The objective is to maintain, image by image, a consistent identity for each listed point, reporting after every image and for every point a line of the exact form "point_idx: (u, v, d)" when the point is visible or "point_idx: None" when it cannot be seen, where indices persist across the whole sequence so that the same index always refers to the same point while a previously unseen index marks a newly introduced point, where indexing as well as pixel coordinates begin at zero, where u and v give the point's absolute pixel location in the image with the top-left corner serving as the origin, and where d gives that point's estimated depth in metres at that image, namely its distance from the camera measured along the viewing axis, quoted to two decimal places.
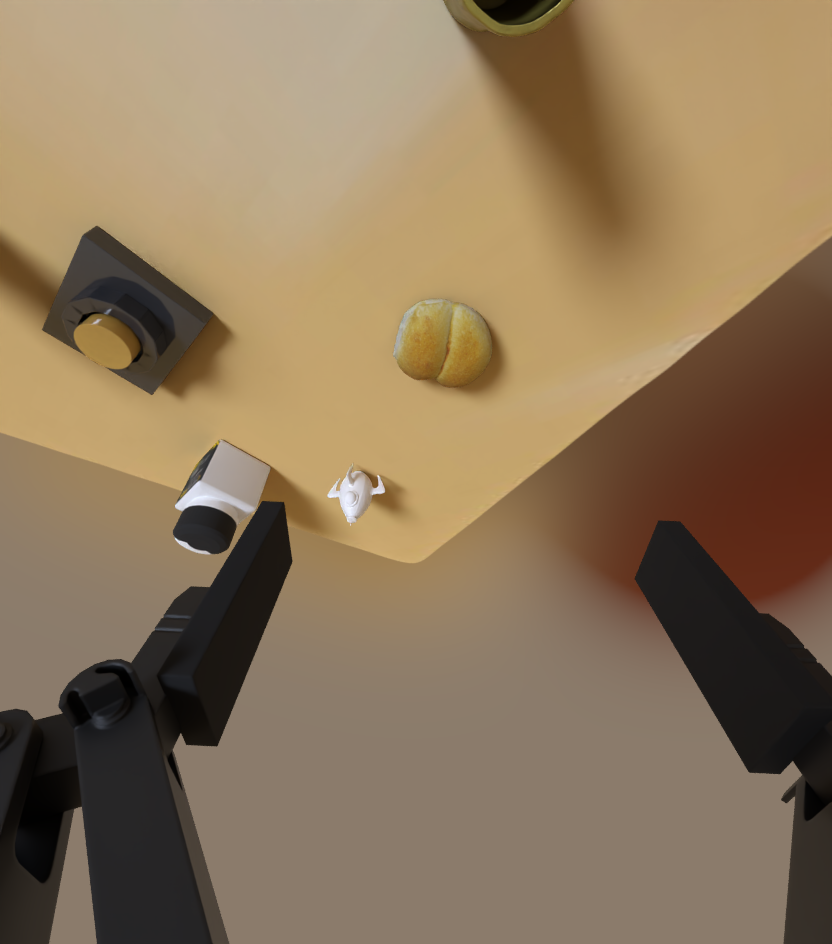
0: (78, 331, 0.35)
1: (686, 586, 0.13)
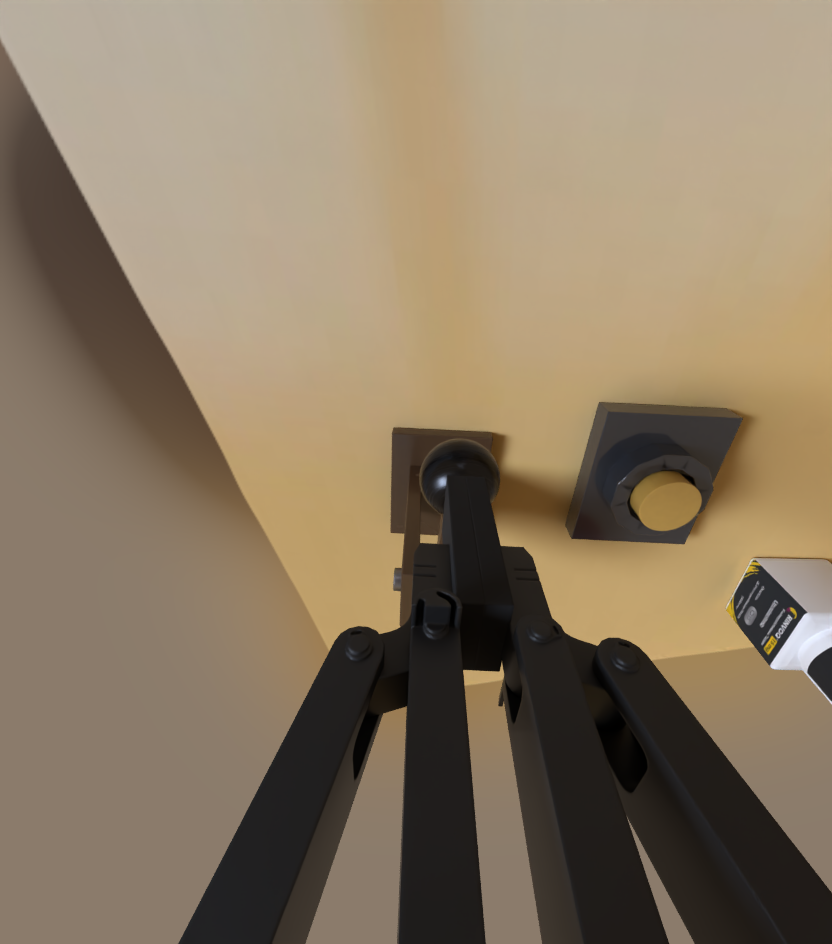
0: (644, 505, 0.31)
1: None
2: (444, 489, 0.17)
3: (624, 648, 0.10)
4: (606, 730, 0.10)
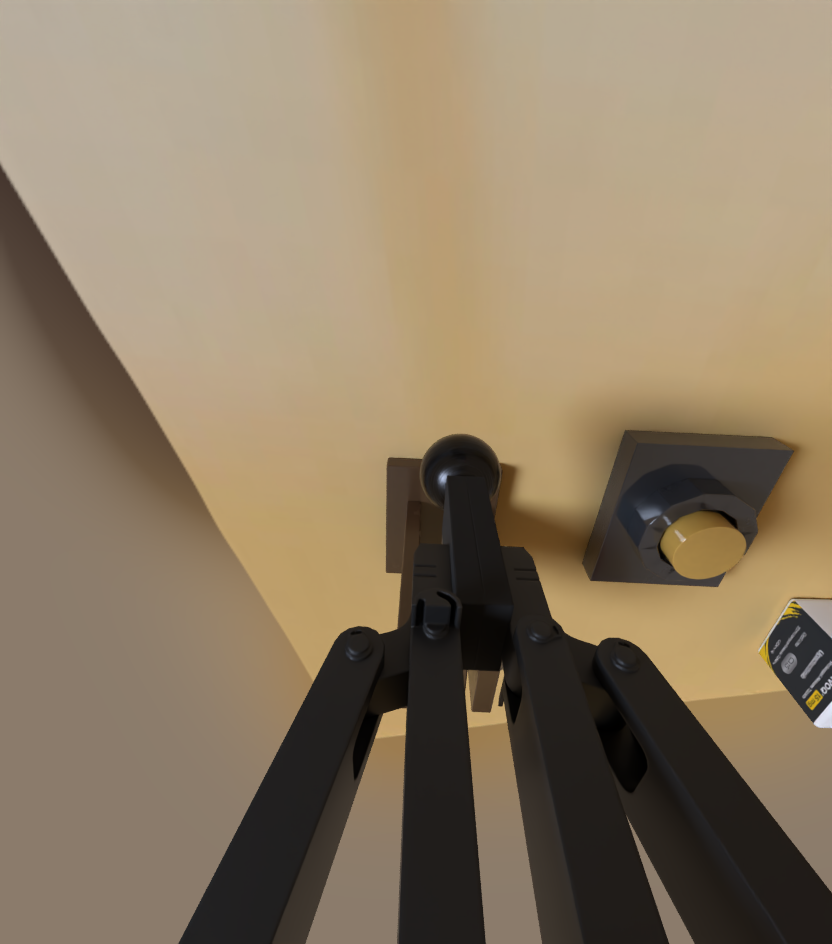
0: (679, 551, 0.27)
1: None
2: (446, 464, 0.17)
3: (623, 647, 0.10)
4: (606, 730, 0.10)
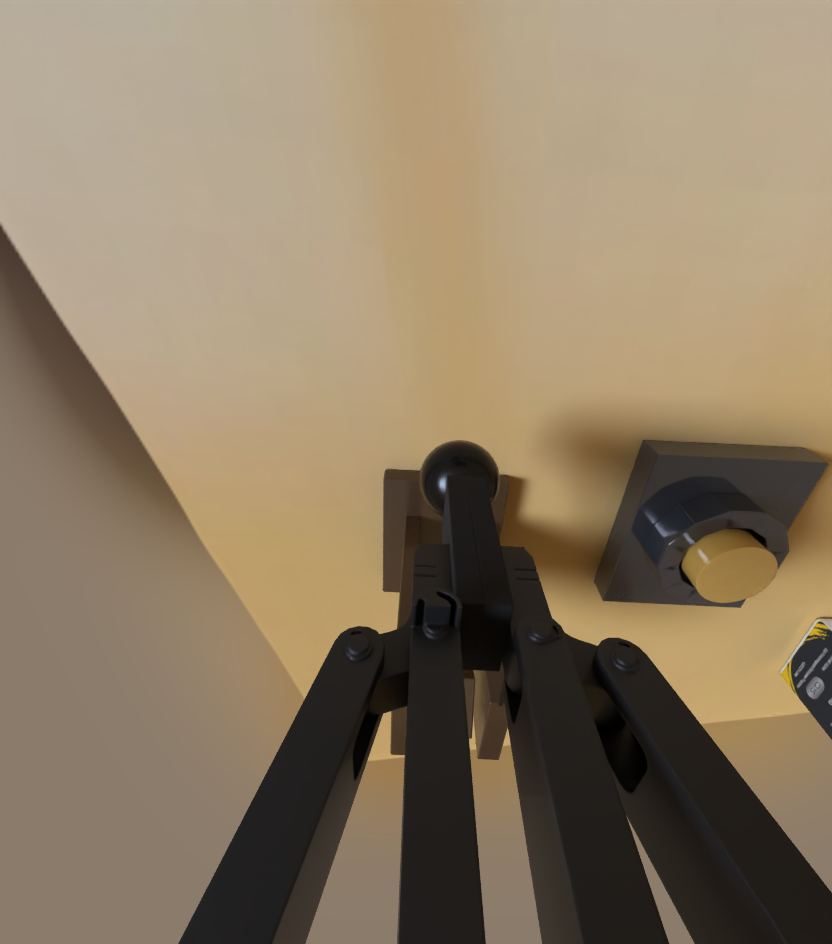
0: (704, 573, 0.24)
1: None
2: (445, 462, 0.17)
3: (624, 648, 0.10)
4: (606, 730, 0.10)
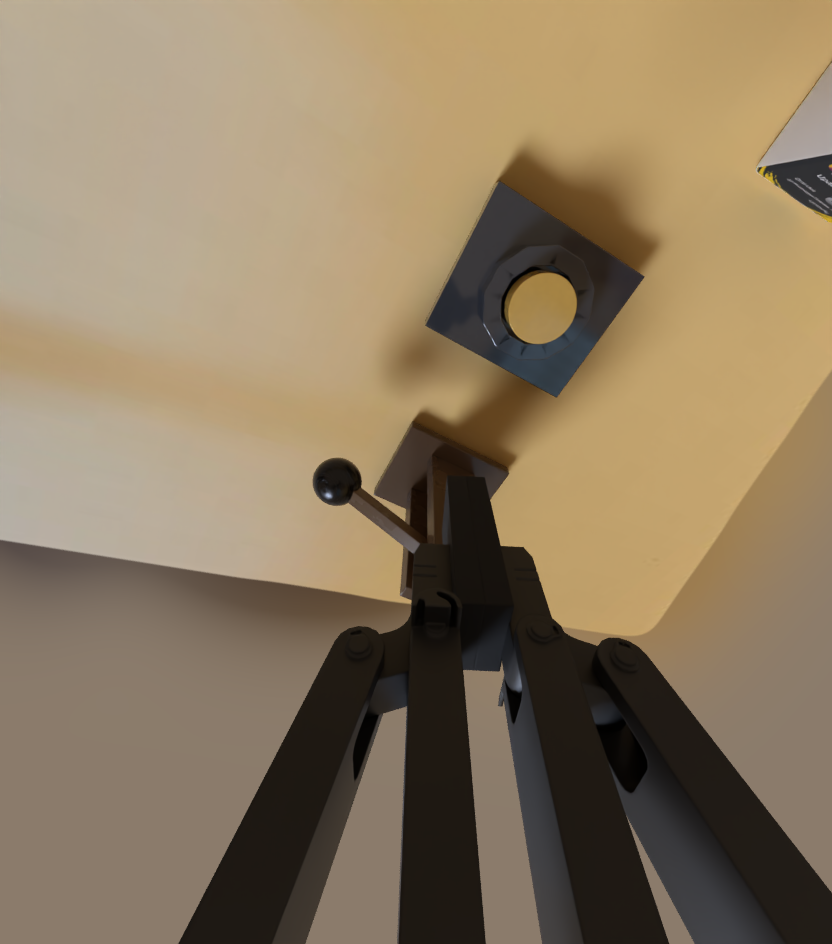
0: (523, 335, 0.28)
1: None
2: None
3: (624, 648, 0.10)
4: (606, 730, 0.10)
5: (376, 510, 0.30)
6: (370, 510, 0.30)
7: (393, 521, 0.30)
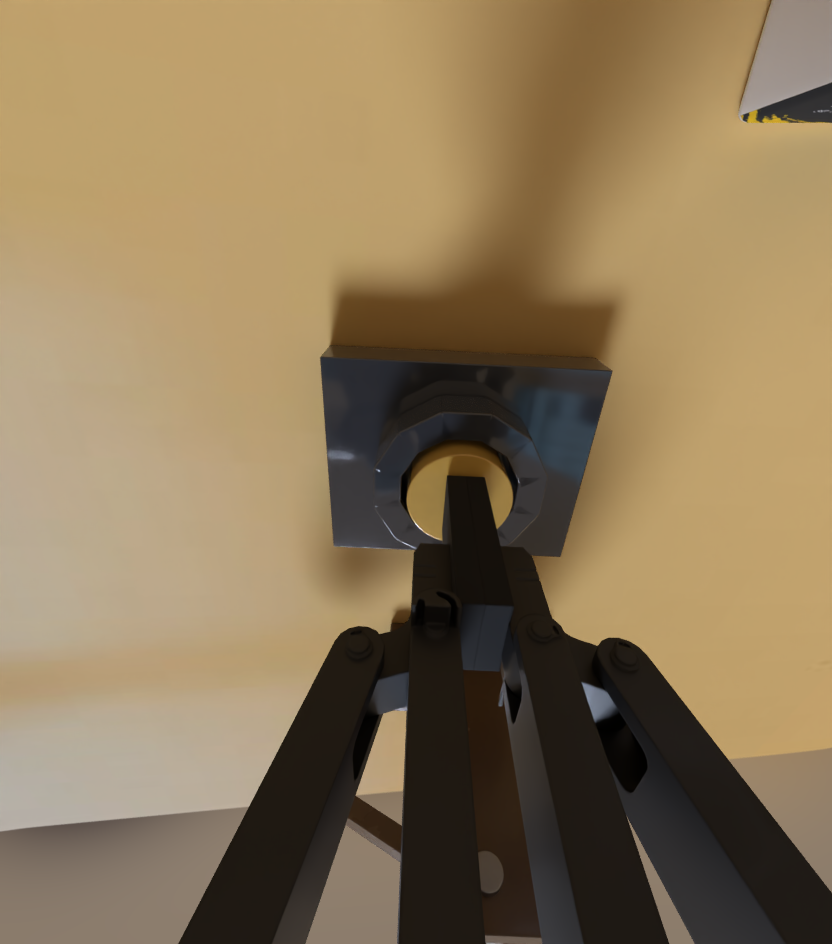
0: None
1: None
2: None
3: (624, 648, 0.10)
4: (606, 730, 0.10)
5: (361, 827, 0.21)
6: (355, 826, 0.22)
7: (387, 841, 0.21)
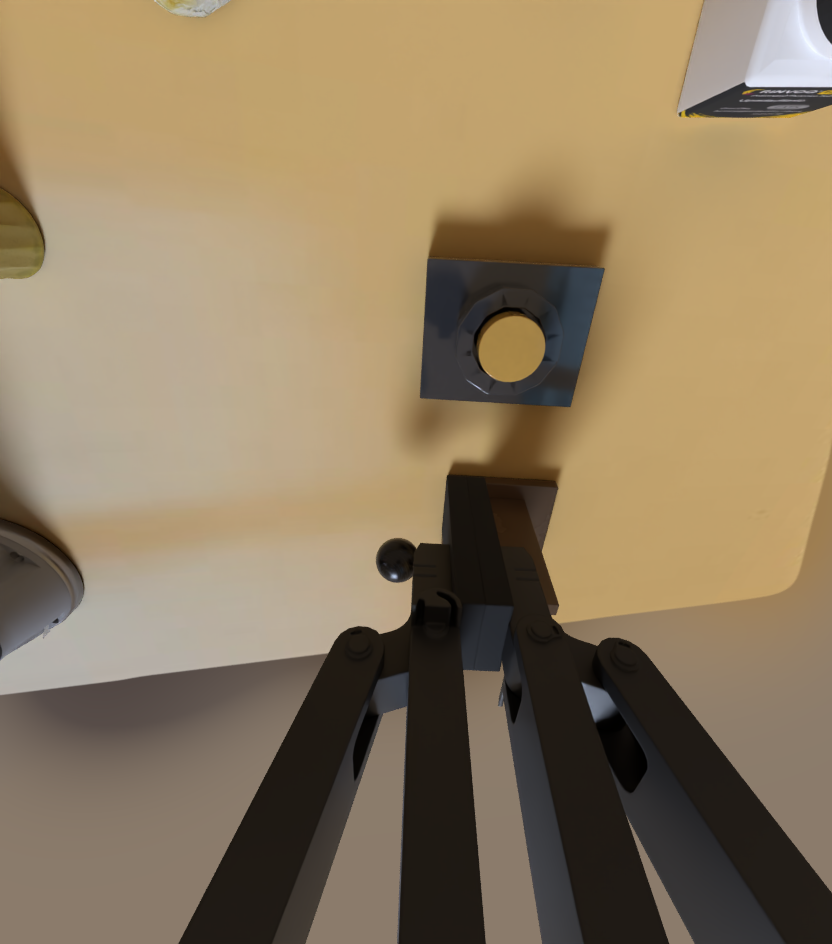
0: (505, 378, 0.29)
1: None
2: None
3: (624, 648, 0.10)
4: (606, 730, 0.10)
5: None
6: None
7: None
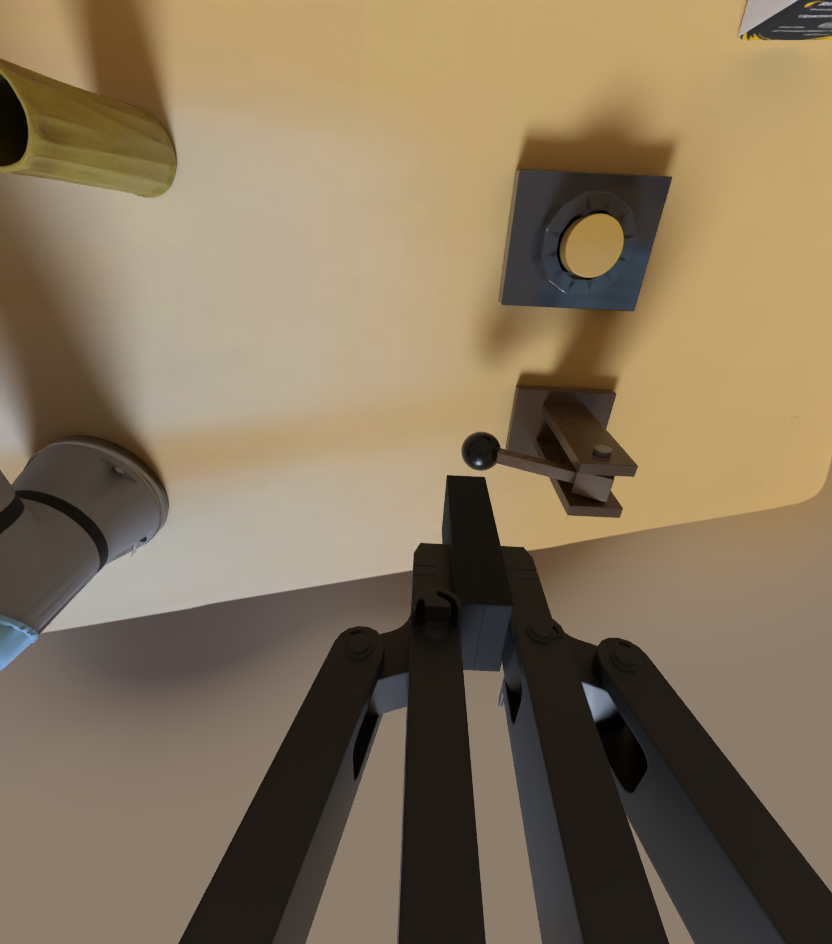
0: (586, 274, 0.34)
1: None
2: (466, 462, 0.39)
3: (624, 648, 0.10)
4: (606, 730, 0.10)
5: (521, 459, 0.37)
6: (516, 461, 0.37)
7: (538, 462, 0.37)
